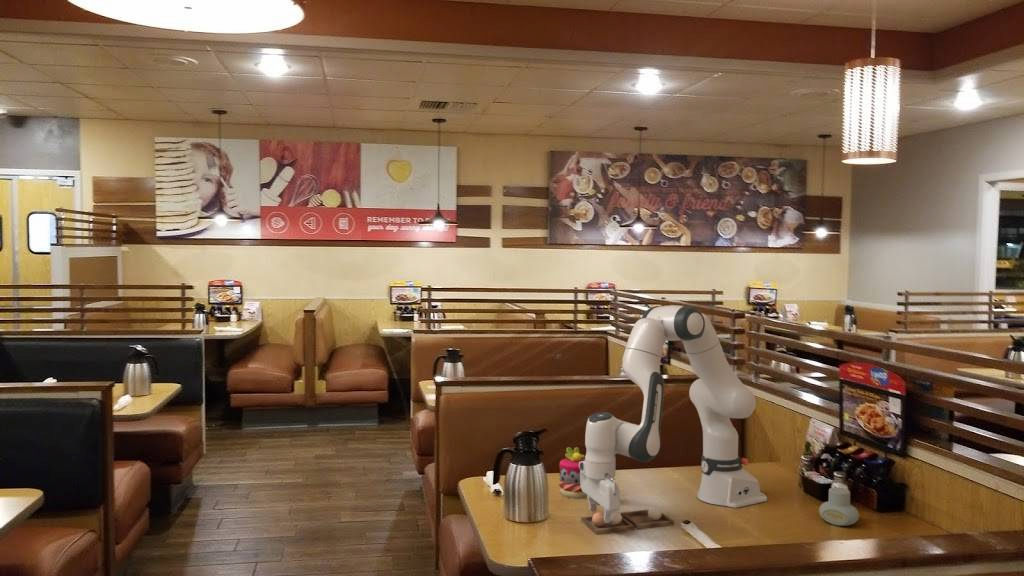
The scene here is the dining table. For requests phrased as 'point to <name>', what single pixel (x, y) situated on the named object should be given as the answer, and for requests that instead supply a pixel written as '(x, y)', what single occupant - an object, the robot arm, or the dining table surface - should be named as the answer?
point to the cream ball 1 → (615, 518)
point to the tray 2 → (646, 520)
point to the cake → (571, 474)
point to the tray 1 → (607, 526)
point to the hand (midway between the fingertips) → (599, 516)
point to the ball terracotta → (598, 519)
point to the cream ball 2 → (654, 513)
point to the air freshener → (839, 508)
